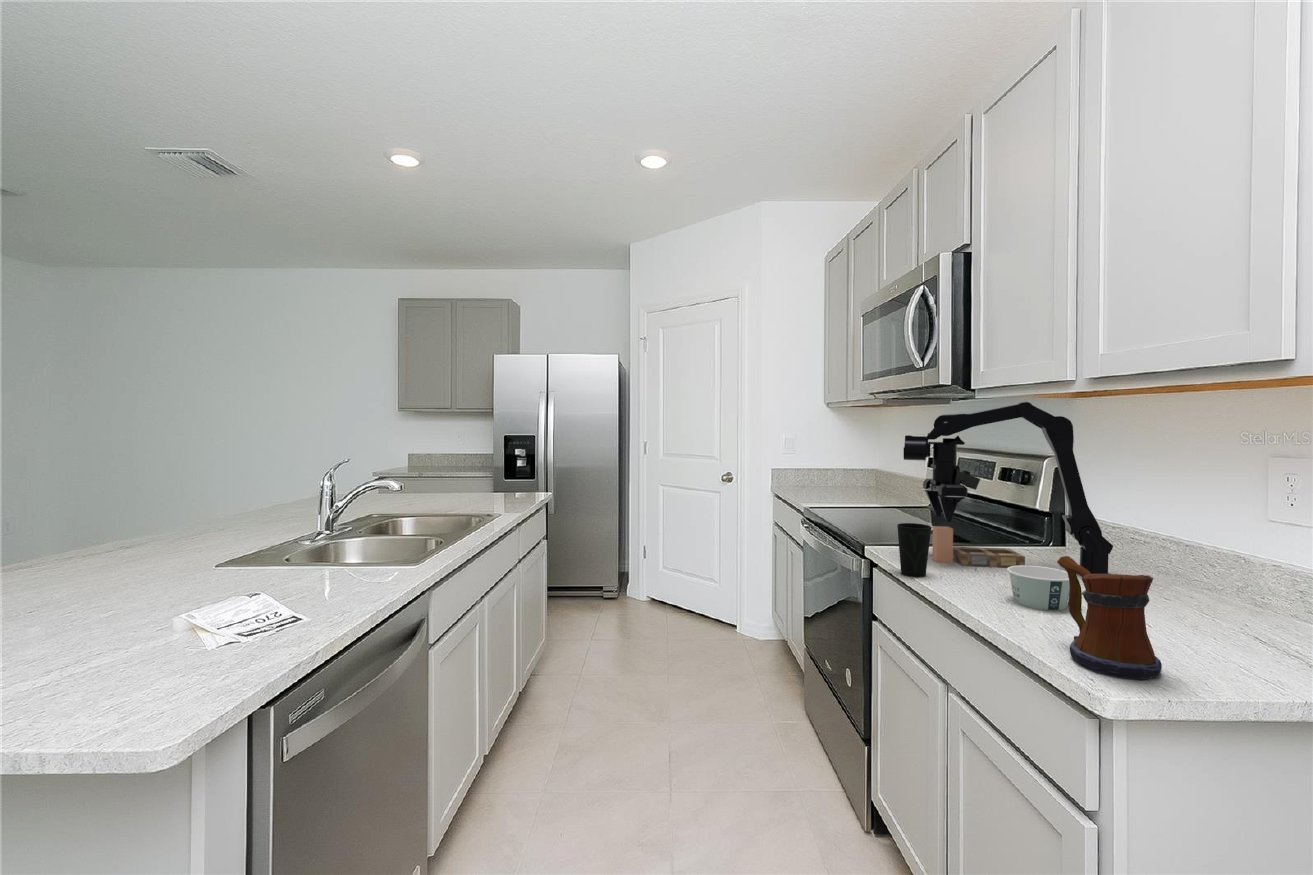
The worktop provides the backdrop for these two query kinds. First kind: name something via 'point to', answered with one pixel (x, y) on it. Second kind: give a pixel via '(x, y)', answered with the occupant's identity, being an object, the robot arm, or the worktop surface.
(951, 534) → the tan rectangular block
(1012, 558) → the socket block
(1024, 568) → the food container
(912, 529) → the cup
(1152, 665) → the mug
